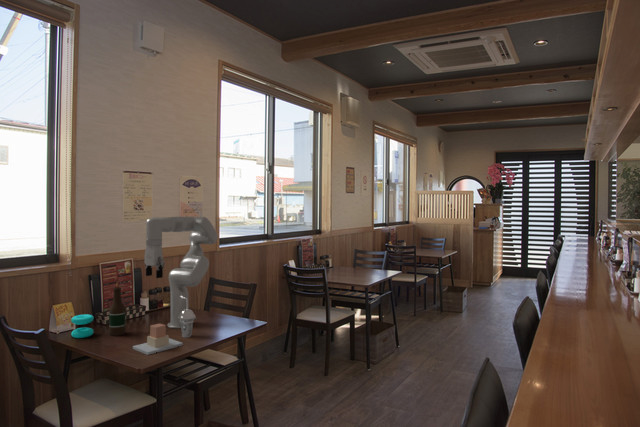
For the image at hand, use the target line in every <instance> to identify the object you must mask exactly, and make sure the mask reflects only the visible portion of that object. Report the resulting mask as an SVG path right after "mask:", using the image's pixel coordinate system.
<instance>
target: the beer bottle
mask: <svg viewBox="0 0 640 427" xmlns="http://www.w3.org/2000/svg"><path fill="white" fill-rule="evenodd" d="M112 290H113V300H112V303H111V306H110V308H109V311H108V333H109V335H110V336H113V337H114V336H115V337H118V336H123V335H125V334H126V328H127V327H126V321H127V320H126V319H127V318H126V314H127V313H126V312H127V311H126V307H125V305H124V303H123V302H122V301H123V300H122V292H121V291H122V287H120V286H116V287H114V288H113V289H112Z"/></svg>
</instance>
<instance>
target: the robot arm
mask: <svg viewBox="0 0 640 427" xmlns="http://www.w3.org/2000/svg"><path fill="white" fill-rule="evenodd" d="M145 229H146V230H145V233H146V234H145V237H146V238H145V249H144V250H145V251H144V259H143V261H144V267H145V277H151V276H153V267H156V270H155V273H156V274H155V278H156V279H163V274H164V273H163V270H164V267H165V262H166V261H164V255H163V233H183V232H184V233H185V232H190V234H189V238H188V239H189V250H187V253H185V255H184V256H183V258H182V259H181V261H180V263H179V265H180V266H179V267H180V268H179V267H177V268H173V269H171V270H170V271H169V274H168V283H169V288H170V289H169V292H170V322H168V323H167V325H166V326H167V327H168V328H170V329H181V323H180V319H179V318H178V316H179V315H180V313H181V312H182V311H183V310H184V309H186V299H183V298H181V297H180V296H182V297H185V298H187V299H188V304H189V298H190V296H189V290H188V288H187V287H189V288H190V287H191V288H193V287H196V286H198V285H199V284H200V283H201V281H202V280H203V279H204V277H205V275H206V273H207V272H208V270H209V266H210V261H209V258H207V257H206V256H205V254H204V249H203V248H202V246H201V245H214V244H216V243H217V241H218V237H219V236H218V233H217V230H216V228H215V226H214V225H213V223H212V222H211V220H209V218H208V217H206V216H170V217H169V216H168V217H164V216H163V217H155V216H154V217H151V218H148V219H146V222H145ZM196 319H197V317H196V315H195V318H194V320H196Z"/></svg>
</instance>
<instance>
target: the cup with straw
mask: <svg viewBox="0 0 640 427" xmlns="http://www.w3.org/2000/svg"><path fill="white" fill-rule="evenodd" d="M180 297H181V298H183V299H186V309H184V310H183V311H182V312H181V313H180V315H179V316H178V318H179V319H180V323H181V328H180V330H181V335H182V336H181V337H182V338H184V339H185V338H190V337H192V333H193V325H194V321H195V319H194V318H195V316H196V314H195V313H194V312H193V310H191V309H190V308H189V303H188V299H187V298H185V297H182V296H180Z"/></svg>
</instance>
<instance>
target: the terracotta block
mask: <svg viewBox="0 0 640 427" xmlns="http://www.w3.org/2000/svg"><path fill="white" fill-rule="evenodd" d="M166 326H167V325H166V324H164V323H156V324H151V325H149V336H151V337H154V338H159V337H163V336H166V335H167V331H166V330H167V329H166Z"/></svg>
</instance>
